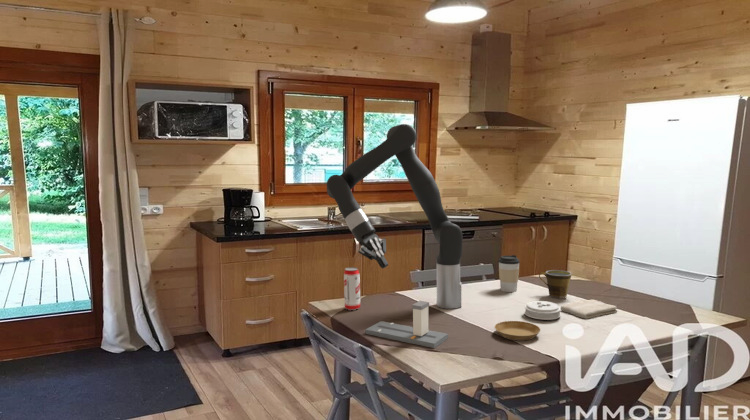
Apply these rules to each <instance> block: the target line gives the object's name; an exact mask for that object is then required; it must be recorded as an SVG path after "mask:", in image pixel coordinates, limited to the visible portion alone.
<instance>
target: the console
mask: <svg viewBox="0 0 750 420" xmlns="http://www.w3.org/2000/svg"><path fill="white" fill-rule="evenodd" d="M428 331H429V332H427V333H426V334H424V335H423V336H418V335H413V326H409V325H403V324H398V323H394V322H387V321H383V320H380V321H378V322H377V323H375V324H373V325H371V326H370V327H368V328H366V329H365V334H366V335H368V336H369V335H370V336H375V337H379V338H384V339H389V340H393V341H398V342H404V343H408V344H413V345H417V346H422V347H427V348H432V349H435V348H437V347H438V346H439V345H441V344H442V343H444V342H446V340H448V339H449V333H445V332H440V331H434V330H430V329H428Z"/></svg>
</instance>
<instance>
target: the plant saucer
mask: <svg viewBox="0 0 750 420" xmlns="http://www.w3.org/2000/svg"><path fill="white" fill-rule="evenodd" d="M494 330H496V332H497V333H498V334H499V335H500V336H501V337H503V338H505V339H507V340H511V341H519V342H520V341H521V342H523V341H530V340H533V339H534V338H535V337H537V336H538V334H539V333H540V332H541V328H540V326H538V325H536V324H534V323H530V322H527V321H520V320H508V321H507V320H505V321H500V322H498V323H496V324H495V325H494Z"/></svg>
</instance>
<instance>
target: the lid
mask: <svg viewBox="0 0 750 420" xmlns="http://www.w3.org/2000/svg"><path fill="white" fill-rule="evenodd" d="M524 309H525V311H524V314H525V316H527V317H528V318H533V319H536V320H541V321H542V320H545V321H546V320H547V321H549V320H551V321H552V320H557V319H560V318H561V316H562V314H561V311H562V310H561V306H559V305H558V304H557V303H555V302H552V301H546V300H545V301H544V300H534V301H530V302H528V303H526V304H525V305H524Z"/></svg>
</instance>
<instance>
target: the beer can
mask: <svg viewBox="0 0 750 420" xmlns="http://www.w3.org/2000/svg"><path fill="white" fill-rule="evenodd" d="M360 277H361V275H360V271H359V268H358V267H352V266H351V267H345V268H344V272H343V285H344V286H343V289H344V291H343V292H344V294H343V295H344V308H345V309H346V310H347V309H348V310H347V311H351V310H353V311H357V310H356V309H358V310H359V309H360V308H361V283H360V282H361V279H360Z"/></svg>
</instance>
